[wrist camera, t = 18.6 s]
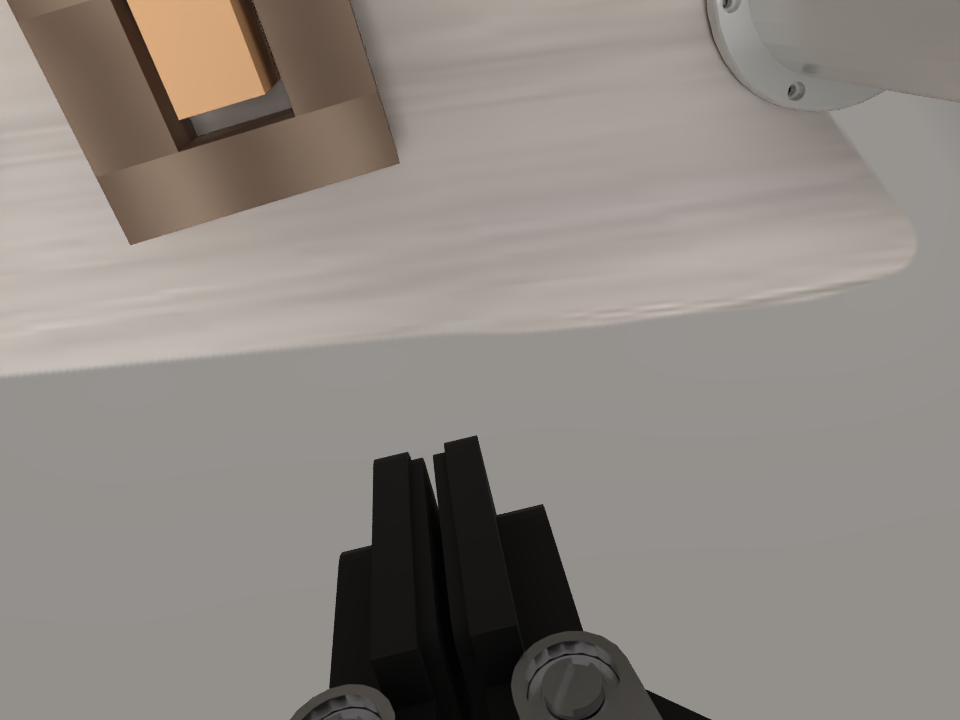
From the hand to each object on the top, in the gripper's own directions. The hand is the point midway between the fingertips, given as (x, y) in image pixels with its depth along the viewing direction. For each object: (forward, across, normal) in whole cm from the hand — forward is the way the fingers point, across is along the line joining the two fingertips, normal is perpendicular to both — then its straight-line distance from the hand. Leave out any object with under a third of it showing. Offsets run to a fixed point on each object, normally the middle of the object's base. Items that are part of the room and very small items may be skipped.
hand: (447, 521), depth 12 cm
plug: (+27, +6, -7) cm, 29 cm away
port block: (+27, +6, -7) cm, 29 cm away
